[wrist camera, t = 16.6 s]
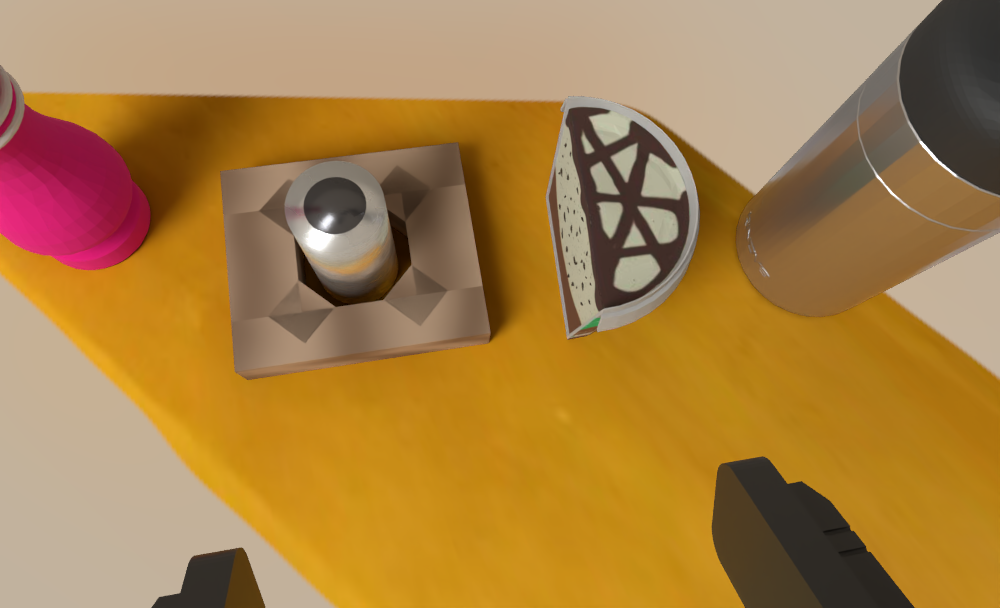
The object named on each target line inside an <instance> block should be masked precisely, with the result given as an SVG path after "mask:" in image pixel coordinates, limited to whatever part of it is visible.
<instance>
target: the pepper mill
mask: <svg viewBox="0 0 1000 608" xmlns="http://www.w3.org/2000/svg"><path fill="white" fill-rule="evenodd" d="M150 217H151V214H150V207H149V203H148V200H147V198H146V196H145V195H144V193H143V192H142V190H141V189H140V188H139V187H138V186H137V185H136V184H135V183H134V182H133V181H132V180H131V176H130V172H129V170H128V168H127V166H126V164H125V162H124V160H123V159H122V157H121V156H120V154H119V153H118V152H117V151H116V150H115V149H114V148H113V147H112V146H111V145H109V144H108V143H107V142H106V141H104V140H103V139H102V138H101V137H99V136H98V135H97V134H95V133H93V132H91V131H89V130H87V129H85V128H83V127H81V126H79V125H77V124H74V123H71V122H68V121H64V120H60V119H56V118H52V117H48V116H45V115H42V114H40V113H38V112H36V111H34V110H32V109H31V108H30V107H28V106H27V105H26V104H24V97H23V94H22V91H21V89H20V87H19V85H18V83H17V82H16V81H15V79H14V78H13V77H12V76H11V75H10V74H9V73H7V72H6V71H5V70H4V69H3V67H2V66H1V65H0V233H1V234H2V235H4V236H5V237H6V238H7V239H9V240H10V241H11V242H13V243H14V244H15V245H17V246H19V247H21V248H23V249H25V250H27V251H30V252H33V253H37V254H41V255H50V256H52V257H54V258H55V259H57V260H58V261H60V262H61V263H63V264H65V265H68V266H70V267H73V268H76V269H82V270H97V269H103V268H107V267H109V266H112V265H115V264H117V263H119V262H121V261H123V260H125V259H126V258H128V257H129V256H130V255H131V254H132V253H133V252H134V251H135V250H136V249H137V248H138V247H139V246H140V245H141V243H142V242H143V240H144V238H145V236H146V234H147V232H148V229H149V225H150Z"/></svg>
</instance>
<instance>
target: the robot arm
mask: <svg viewBox="0 0 1000 608" xmlns="http://www.w3.org/2000/svg"><path fill="white" fill-rule="evenodd" d="M998 233H1000V0H942V1H941V2H940V3H939V4H938V5H937V6H936V8H935V9H934V10H933V11H932V12H931V13H930V14H929V15H928V16H927V17H926V18H925V19H924V20H923V21H922V22H921V23H920V24H919V25H918V26H917V27H916V28H915V29H914V30H913V31H912V33H910V34H909V36H908V37H907V38H906V39H905V40H904V41H903V42H902V43H901V44H900V45H899V46H898V47H897V48H896V49H895V50H894V51H893V52H892V53H891V54H890V55H889V56H888V57H887V58H886V59H885V61H884V62H883V63H882V64H881V65H880V66H879V67H878V68H877V69H876V70H875V71H874V72H873V73H872V74H871V75H870V76H869V78H868V79H867V80H866V81H865V82H864V83H863V84H862V85H861V86H860V87H859V88H858V89H857V90H856V91H855V92H854V93H853V94H852V95H851V96H850V97H849V98H848V99H847V100H846V101H845V103H844V104H843V105H842V106H841V107H840V108H839V109H838V110H837V111H836V112H835V113H834V114H833V115H832V116H831V117H830V118H829V119H828V120H827V121H826V122H825V123H824V124H823V125H822V126H821V127H820V128H819V130H818V131H817V132H816V133H815V134H814V135H813V136H812V137H811V138H810V139H809V140H808V141H807V142H806V143H805V144H804V145H803V146H802V147H801V148H800V149H799V150H798V151H797V153H795V154H794V155H793V156H792V158H791V159H790V160H789V161H788V162H787V163H786V164H785V165H784V166H783V167H782V168H781V169H780V170H779V171H778V172H777V173H776V174H775V175H774V176H773V177H772V178H771V179H770V180H769V182H768V183H767V184H766V185H765V186H764V187H763V188H762V189H761V190H760V191H759V192H758V193H757V194H756V195H755V196H754V197H753V198H752V199H751V200H750V201H749V203H748V204H747V205H746V207H745V209H744V210H743V212H742V214H741V216H740V219H739V222H738V226H737V232H736V246H737V252H738V257H739V260H740V262H741V265H742V268H743V270H744V272H745V274H746V275H747V277H748V278H749V280H750V282H751V283H752V285H753V286H754V287H755V288H756V289H757V290H758V291H759V292H760V293H761V294H762V295H763V296H764V297H765V298H767V299H768V300H770V301H771V302H772V303H774V304H775V305H777V306H779V307H781V308H783V309H785V310H787V311H789V312H792V313H796V314H800V315H804V316H814V317H823V316H829V315H835V314H838V313H840V312H843V311H845V310H848V309H850V308H852V307H854V306H856V305H858V304H860V303H862V302H864V301H866V300H868V299H870V298H872V297H874V296H875V295H877V294H880V293H882V292H884V291H886V290H888V289H890V288H892V287H894V286H896V285H898V284H900V283H901V282H904V281H906V280H907V279H909V278H911V277H913V276H915V275H917V274H919V273H921V272H923V271H925V270H927V269H929V268H931V267H933V266H935V265H937V264H939V263H941V262H943V261H945V260H947V259H949V258H951V257H953V256H955V255H957V254H958V253H960V252H962V251H964V250H966V249H968V248H970V247H972V246H974V245H976V244H978V243H980V242H982V241H984V240H986V239H988V238H990V237H992V236H994V235H996V234H998ZM712 535H713V541H714V545H715V549H716V552H717V555H718V558H719V560H720V562H721V564H722V566H723V568H724V570H725V572H726V573H727V575H728V577H729V579H730V581H731V582H732V584H733V586H734V588H735V590H736V592H737V593H738V595H739V597H740V599H741V601H742V603H743V604H744V606H745V608H914V606H913V605H912V604H911V603H910V601H909V600H908V599H907V598H906V596H905V595H904V594H903V593H902V591H901V590H900V589H899V587H898V586H897V585H896V584H895V582H894V581H893V580H892V579H891V577H890V576H889V575H888V574H887V572H886V571H885V570H884V569H883V567H882V566H881V565H880V563H879V562H878V561H877V560H876V558H875V557H874V556H873V555H872V553H871V552H868V551H867V550H866V546H865V545H864V543H863V542H862V541H861V539H860V538H859V537H858V536H857V534H856V533H855V532H854V531H851V530H850V526H849V524H848V523H847V522H846V521H845V519H844V518H843V517H842V515H841V514H840V513H839V512H838V510H837V509H836V508H835V507H834V505H833V504H832V503H831V502H830V501H829V500H828V499H826V498H825V497H823V496H822V495H821V494H819V493H818V492H816V491H815V490H813V489H812V488H810V487H809V486H807V485H806V484H804V483H803V482H802V481H801V482H796V483H790V484H787V483H786V481H785V480H784V479H783V477H782V476H781V475H780V473H779V472H778V471H777V469H776V468H775V467H774V465H773V464H772V463H771V462H770V460H768V459H767V458H765V457H757V458H751V459H746V460H740V461H734V462H729V463H723V464H721V465H720V466H719V468H718V472H717V480H716V490H715V500H714V510H713V520H712ZM152 608H265V605H264V602H263V599H262V597H261V593H260V590H259V588H258V585H257V582H256V579H255V577H254V574H253V571H252V568H251V565H250V563H249V560H248V557H247V554H246V552H245V551H244V549H243V548H236V549H230V550H224V551H219V552H213V553H207V554H202V555H196V556H193V557H192V558H191V560H190V562H189V564H188V567H187V570H186V574H185V578H184V582H183V585H182V589H181V593H179V594H174V595H169V596H163V597H159V598H158V599H157V601H156V602H155V604H154V605H153V606H152Z"/></svg>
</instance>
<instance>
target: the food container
mask: <svg viewBox="0 0 1000 608" xmlns="http://www.w3.org/2000/svg"><path fill="white" fill-rule="evenodd" d="M561 112H564V115H563V120H562V124H561V129H560V133H559V138H558V143H557V147H556V152H555V156H554V161H553V166H552V170H551V175H550V179H549V184H548V189H547V193H546V203H547V209H548V216H549V223H550V229H551V236H552V242H553V249H554V255H555V262H556V269H557V275H558V282H559V288H560V295H561V301H562V308H563V315H564V321H565V328H566V334H567V340H568V339H573V338H579V337H584V336H587V335H589V334H591V333H593V332H595V331H597V332H600V331H605V330H610V329H615V328H618V327H621V326H624V325H627V324H629V323H632V322H634V321H636V320H638V319H640V318H642V317H643V316H645V315H647V314H649V313H650V312H652V311H653V310H654V309H655V308H657V307H658V306H659V305H660V304H662V303H663V302H664V301H665V300H666V299H667V298H668V297H669V296H670V294H671V293H672V292H673V291H674V290H675V289H676V288H677V286H678V284H679V283H680V281H681V280H682V278H683V276H684V275H685V273H686V271H687V268H688V266H689V263H690V261H691V258H692V256H693V252H694V249H695V246H696V241H697V236H698V232H699V220H700V209H699V201H698V194H697V190H696V186H695V183H694V180H693V176H692V173H691V171H690V169H689V167H688V165H687V163H686V160H685V158H684V157H683V155H682V154H681V152H680V151H679V149H678V148H677V146H676V145H675V143H674V142H673V141H672V140H671V139H670V138H669V137H668V136H667V135H666V134H665V133H664V131H663V130H661V129H660V128H659V127H658V126H657V125H655V124H654V123H653V122H652V121H650V120H649V119H648V118H646V117H644V116H643V115H641V114H639V113H638V112H636V111H634V110H632V109H630V108H627V107H625V106H623V105H620V104H618V103H615V102H611V101H607V100H604V99H599V98H592V97H584V96H569V97H568V98H567V99H565V101H564V103H563V105H562V107H561Z"/></svg>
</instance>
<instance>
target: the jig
mask: <svg viewBox="0 0 1000 608" xmlns="http://www.w3.org/2000/svg"><path fill="white" fill-rule="evenodd" d="M329 161H345V162H350V163H353V164H356V165H358V166H360V167H362V168H364V169H366V170H367V171H368V172H369V173H371V174H372V175H373V176H374V177H375V179H376V180H377V181H378V183H379V184H380V186H381V188H382V191H383V194H384V198H385V203H386V208H387V212H388V217H389V222H390V225H391V226H392V227H394V228H395V229H396V230H398V231H399V232H401V233H402V234H404V235H405V236H406V237H408V242H409V249H410V256H411V263H412V265H411V266H410V267H409V268H408V270H407V271H406V272H405V273H404V275H403V276H402V277H401V278H400V280H399V281H398V282H397V283H396V285H395V286H394V287H393V288H392V290H391V291H390V292H389V293H388V295H387V296H386V297H385V298H384V300H381V301H374V302H367V303H360V304H354V305H347V306H340V307H335V306H333V305H332V304H331V303H329V302H328V301H326V300H325V299H324V298H322V297H321V296H320V295H318V294H317V293H315V292H314V291H313V290H311V289H310V288H308V287H307V286H306V279H305V270H304V260H303V250H302V249H301V247H300V245H299V243H298V242H297V240H296V238H295V236H294V235H293V233H292V231H291V229H290V227H289V225H288V223H287V220H286V216H285V199H286V196H287V193H288V191H289V188H290V187H291V185H292V183H293V182H294V181H295V179H296V178H297V177H298V176H299V175H300V174H301V173H303V172H304V171H305V170H307V169H309V168H310V167H312V166H315V165H317V164H320V163H323V162H329ZM220 172H221V186H222V200H223V214H224V227H225V241H226V255H227V269H228V282H229V296H230V310H231V324H232V337H233V351H234V365H235V372H236V373H238V374H239V375H241V376H242V377H244V378H246V379H247V380H250V379H257V378H263V377H270V376H276V375H283V374H289V373H296V372H303V371H309V370H316V369H322V368H329V367H335V366H342V365H348V364H355V363H361V362H368V361H375V360H381V359H388V358H394V357H401V356H407V355H414V354H420V353H427V352H433V351H440V350H446V349H453V348H460V347H466V346H473V345H479V344H486V343H489V339H490V334H491V332H490V326H489V320H488V314H487V308H486V303H485V297H484V291H483V285H482V279H481V274H480V268H479V262H478V256H477V250H476V245H475V239H474V233H473V227H472V221H471V216H470V210H469V204H468V198H467V192H466V186H465V181H464V175H463V169H462V163H461V157H460V152H459V146H458V143H449V144H441V145H433V146H425V147H416V148H408V149H400V150H392V151H383V152H375V153H367V154H359V155H351V156H342V157H334V158H326V159H318V160H309V161H301V162H293V163H285V164H276V165H268V166H260V167H252V168H243V169H235V170H227V171H220Z"/></svg>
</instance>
